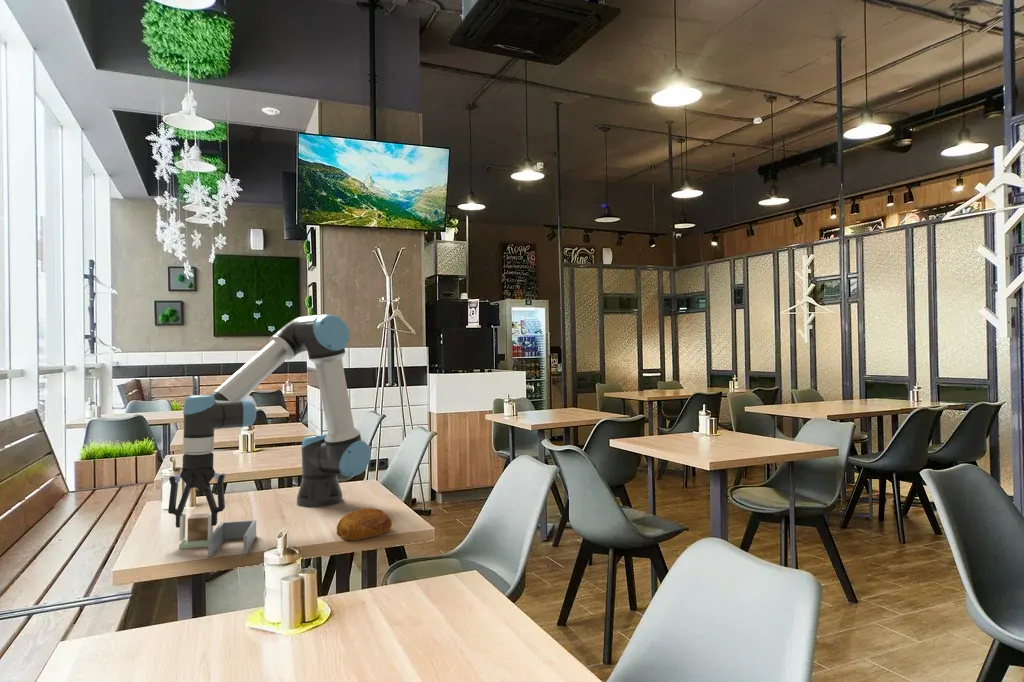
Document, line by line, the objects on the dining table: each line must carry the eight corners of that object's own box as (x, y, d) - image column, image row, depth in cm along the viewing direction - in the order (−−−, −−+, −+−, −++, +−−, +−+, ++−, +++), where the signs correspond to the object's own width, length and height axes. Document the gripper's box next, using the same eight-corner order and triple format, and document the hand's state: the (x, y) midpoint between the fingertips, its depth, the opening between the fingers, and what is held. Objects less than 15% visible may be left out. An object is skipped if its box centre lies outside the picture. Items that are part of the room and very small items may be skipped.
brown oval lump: (399, 540, 183) (402, 512, 184) (351, 544, 172) (355, 514, 173) (371, 530, 194) (374, 503, 194) (324, 533, 183) (328, 504, 184)
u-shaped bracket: (256, 536, 181) (256, 520, 181) (246, 553, 165) (246, 536, 165) (221, 538, 179) (221, 522, 179) (208, 557, 163) (208, 539, 163)
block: (211, 534, 179) (211, 513, 179) (207, 539, 174) (207, 517, 175) (191, 536, 178) (191, 514, 178) (187, 541, 173) (187, 518, 173)
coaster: (218, 538, 180) (218, 534, 180) (212, 546, 172) (212, 542, 172) (186, 540, 178) (186, 536, 178) (179, 548, 170) (179, 544, 170)
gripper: (238, 449, 181) (236, 533, 181) (163, 451, 177) (160, 537, 176) (234, 453, 174) (232, 540, 173) (155, 455, 169) (152, 544, 169)
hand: (196, 538), depth 175 cm, fingers open, 6 cm apart
